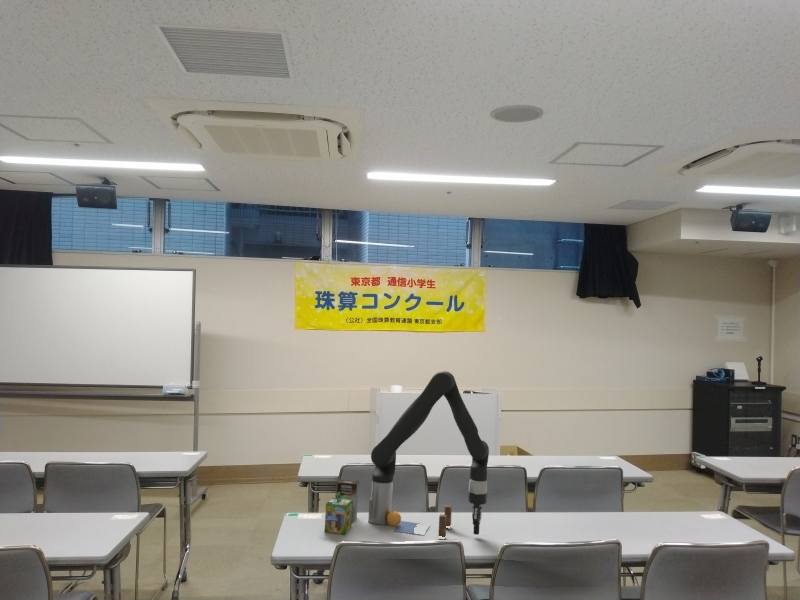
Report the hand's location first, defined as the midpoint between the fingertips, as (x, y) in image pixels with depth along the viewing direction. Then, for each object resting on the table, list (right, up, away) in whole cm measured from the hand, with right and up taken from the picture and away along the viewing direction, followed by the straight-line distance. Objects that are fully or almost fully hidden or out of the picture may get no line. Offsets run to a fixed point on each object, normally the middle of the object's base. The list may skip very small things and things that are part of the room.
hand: (476, 533), depth 209 cm
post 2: (-11, -2, +9) cm, 15 cm away
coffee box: (-55, 0, +14) cm, 57 cm away
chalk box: (-57, +1, 0) cm, 57 cm away
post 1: (-14, -1, -3) cm, 15 cm away
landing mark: (-26, -1, +7) cm, 27 cm away
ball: (-34, +2, +9) cm, 35 cm away
